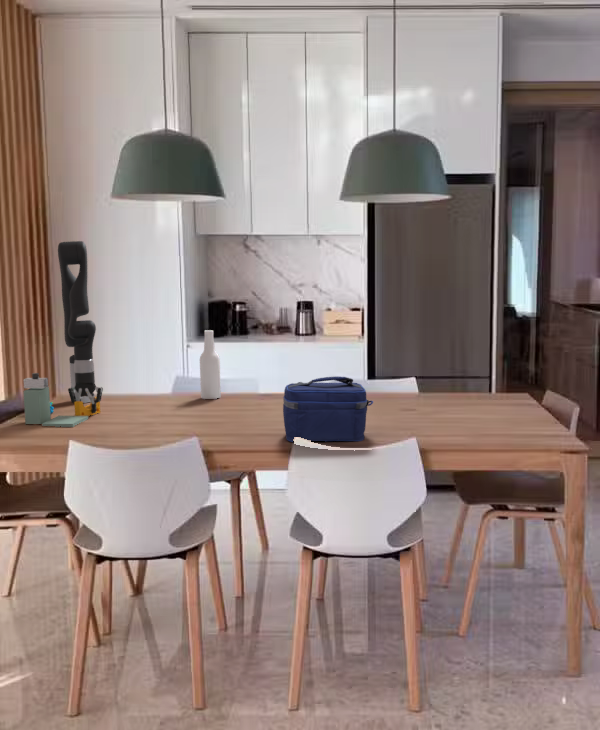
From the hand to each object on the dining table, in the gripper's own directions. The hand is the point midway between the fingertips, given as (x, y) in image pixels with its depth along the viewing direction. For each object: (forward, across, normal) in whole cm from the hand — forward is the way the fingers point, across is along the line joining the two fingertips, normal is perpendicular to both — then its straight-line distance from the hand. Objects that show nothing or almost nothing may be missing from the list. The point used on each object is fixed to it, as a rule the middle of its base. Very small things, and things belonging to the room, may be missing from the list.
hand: (86, 412), depth 319 cm
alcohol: (+1, -41, -39) cm, 57 cm away
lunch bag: (+3, -98, +32) cm, 103 cm away
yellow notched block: (+1, 0, 0) cm, 1 cm away
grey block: (-13, +14, +15) cm, 24 cm away
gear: (+1, +19, -3) cm, 19 cm away
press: (+1, +7, +14) cm, 16 cm away
